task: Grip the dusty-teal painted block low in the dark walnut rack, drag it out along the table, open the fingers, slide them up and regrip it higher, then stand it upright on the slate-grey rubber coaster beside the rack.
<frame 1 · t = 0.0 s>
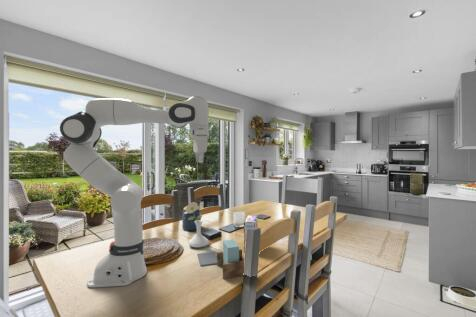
hand: (199, 162, 111), 48 cm above the table, tool pointing down, fingers open, 8 cm apart
flower in vase: (197, 246, 136), on the table
slate coaster: (208, 259, 119), on the table
candy box: (251, 248, 132), on the table
teal block: (230, 270, 107), on the table
walnut rack: (233, 269, 108), on the table
canister: (191, 228, 168), on the table
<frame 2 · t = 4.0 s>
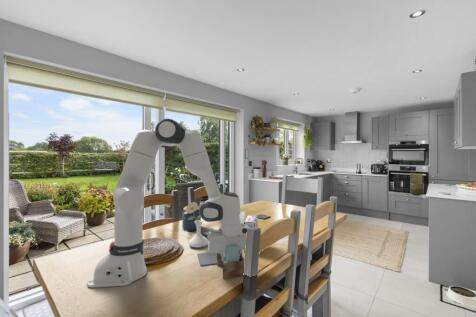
hand: (230, 259, 107), 5 cm above the table, tool pointing down, fingers closed on teal block, 5 cm apart
teal block: (230, 270, 107), on the table, touching gripper
everything else where it was.
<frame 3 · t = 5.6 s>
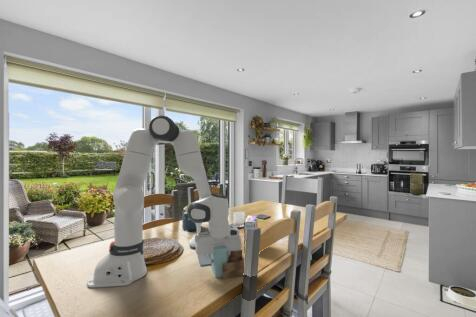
hand: (218, 261, 106), 4 cm above the table, tool pointing down, fingers closed on teal block, 5 cm apart
teal block: (219, 271, 106), on the table, touching gripper
everything else where it was.
when the fingers open (5 cm above the table, at t = 7.3 s): teal block stays where it is, on the table.
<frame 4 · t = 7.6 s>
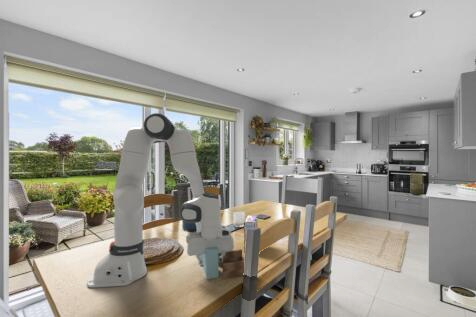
hand: (210, 262, 105), 5 cm above the table, tool pointing down, fingers open, 8 cm apart
teal block: (210, 273, 105), on the table
everything else where it was.
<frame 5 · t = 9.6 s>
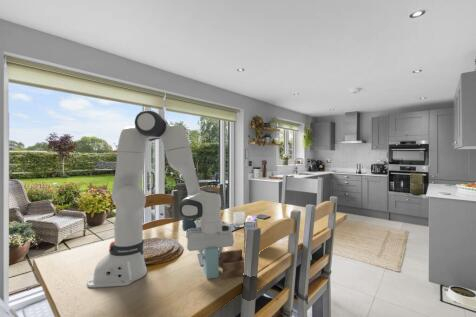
hand: (210, 258, 105), 7 cm above the table, tool pointing down, fingers closed on teal block, 5 cm apart
teal block: (210, 272, 105), on the table, touching gripper
everything else where it was.
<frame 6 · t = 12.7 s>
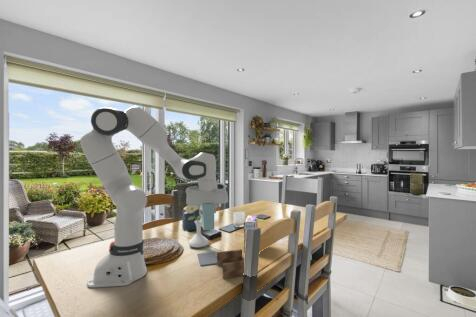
hand: (207, 213, 118), 23 cm above the table, tool pointing down, fingers closed on teal block, 5 cm apart
teal block: (207, 226, 118), point 16 cm above the table, touching gripper
everything else where it was.
when the fingers open (8 cm above the table, at t = 16.1 s): teal block stays where it is, resting on slate coaster.
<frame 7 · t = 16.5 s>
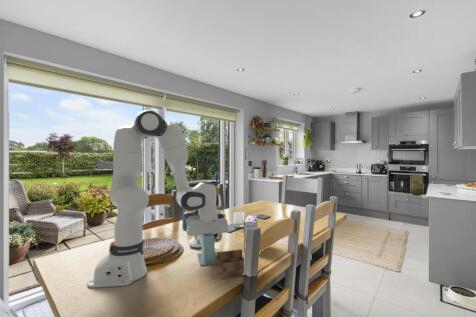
hand: (207, 242, 118), 8 cm above the table, tool pointing down, fingers open, 8 cm apart
teal block: (207, 257, 119), point 1 cm above the table, touching slate coaster
everything else where it was.
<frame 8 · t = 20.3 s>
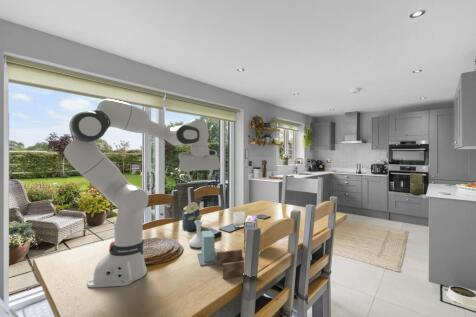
hand: (199, 179, 122), 39 cm above the table, tool pointing down, fingers open, 8 cm apart
nothing on the table moved.
at the end: teal block 0.1 cm off-centre on the slate coaster, point 0.6 cm above the slate coaster's base; teal block tilted 0°; the gripper is holding nothing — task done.
